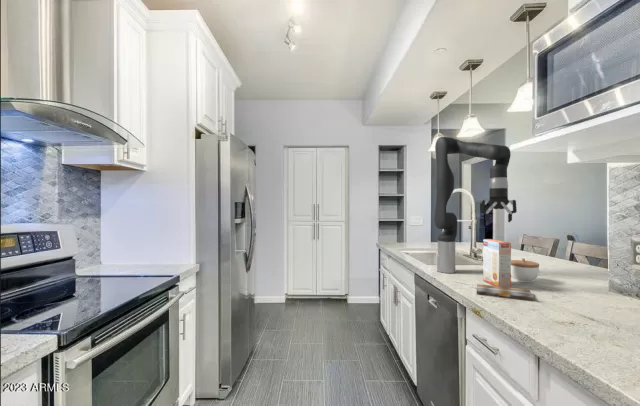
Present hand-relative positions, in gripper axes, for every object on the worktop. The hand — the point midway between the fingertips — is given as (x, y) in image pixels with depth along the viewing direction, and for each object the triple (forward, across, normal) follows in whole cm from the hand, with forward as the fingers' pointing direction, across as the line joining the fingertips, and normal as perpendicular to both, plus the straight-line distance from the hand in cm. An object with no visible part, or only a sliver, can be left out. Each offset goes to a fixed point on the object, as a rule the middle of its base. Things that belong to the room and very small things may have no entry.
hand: (498, 222), depth 145 cm
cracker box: (+30, +1, -1) cm, 30 cm away
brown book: (+30, -1, +15) cm, 33 cm away
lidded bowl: (+30, -12, -14) cm, 35 cm away
